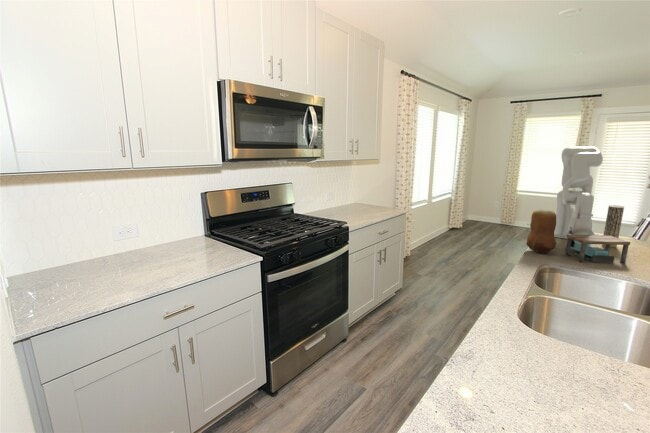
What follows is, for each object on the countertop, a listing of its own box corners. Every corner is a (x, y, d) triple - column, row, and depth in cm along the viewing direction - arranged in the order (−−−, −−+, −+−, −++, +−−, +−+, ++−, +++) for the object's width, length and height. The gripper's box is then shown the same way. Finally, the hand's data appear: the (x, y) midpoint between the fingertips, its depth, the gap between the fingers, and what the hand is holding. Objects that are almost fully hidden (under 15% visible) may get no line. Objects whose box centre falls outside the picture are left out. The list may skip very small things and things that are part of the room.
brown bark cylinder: (619, 248, 186) (627, 206, 181) (608, 248, 186) (615, 206, 181) (609, 244, 192) (617, 205, 188) (598, 244, 193) (605, 205, 188)
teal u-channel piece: (567, 246, 184) (568, 239, 183) (578, 246, 183) (579, 240, 183) (594, 258, 162) (595, 250, 162) (607, 258, 162) (608, 251, 161)
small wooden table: (564, 254, 175) (567, 234, 172) (606, 255, 172) (610, 235, 170) (580, 262, 162) (583, 241, 160) (626, 263, 160) (630, 242, 157)
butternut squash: (545, 249, 184) (551, 207, 179) (559, 256, 171) (566, 212, 166) (520, 248, 186) (525, 207, 181) (533, 255, 173) (539, 211, 168)
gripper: (593, 215, 179) (588, 245, 182) (561, 214, 181) (557, 244, 184) (603, 217, 171) (598, 249, 175) (570, 217, 173) (565, 248, 177)
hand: (577, 246), depth 179 cm, fingers closed on teal u-channel piece, 6 cm apart
